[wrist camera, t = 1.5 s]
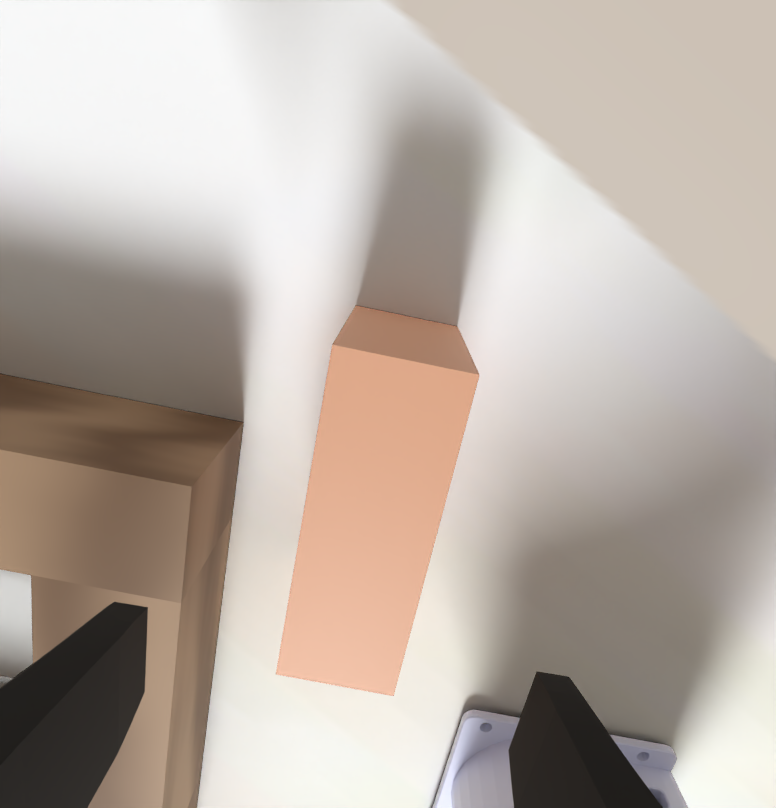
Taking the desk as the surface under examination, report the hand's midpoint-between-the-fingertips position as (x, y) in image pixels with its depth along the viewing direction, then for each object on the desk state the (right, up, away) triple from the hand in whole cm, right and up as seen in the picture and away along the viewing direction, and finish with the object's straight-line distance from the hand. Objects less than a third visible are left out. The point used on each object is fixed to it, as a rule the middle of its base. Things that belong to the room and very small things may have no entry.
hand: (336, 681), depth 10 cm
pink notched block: (+1, +3, +10) cm, 11 cm away
